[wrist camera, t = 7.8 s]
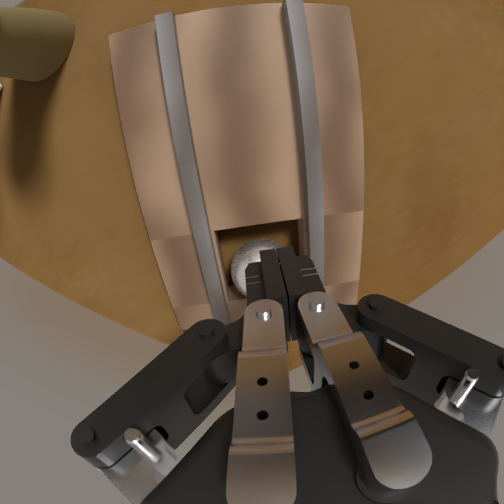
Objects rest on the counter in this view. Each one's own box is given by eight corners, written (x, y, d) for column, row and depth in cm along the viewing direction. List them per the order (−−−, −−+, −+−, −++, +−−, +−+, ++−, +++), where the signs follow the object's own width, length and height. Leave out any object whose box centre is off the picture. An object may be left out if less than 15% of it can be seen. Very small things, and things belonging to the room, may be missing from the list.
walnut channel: (338, 13, 14) (354, 2, 11) (348, 290, 25) (360, 311, 23) (119, 40, 14) (102, 32, 11) (183, 314, 25) (180, 338, 23)
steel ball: (290, 287, 23) (280, 233, 23) (303, 297, 19) (291, 231, 19) (237, 299, 23) (225, 244, 23) (238, 312, 19) (224, 245, 18)
